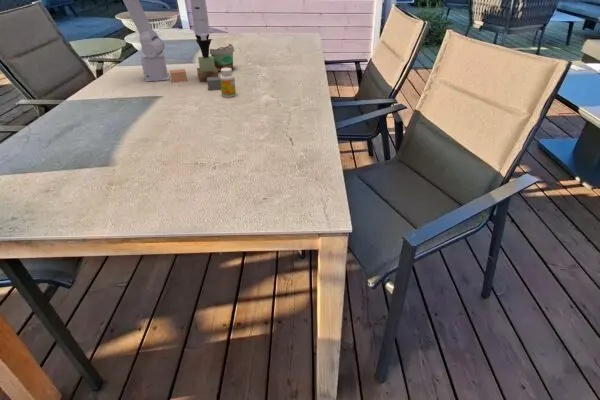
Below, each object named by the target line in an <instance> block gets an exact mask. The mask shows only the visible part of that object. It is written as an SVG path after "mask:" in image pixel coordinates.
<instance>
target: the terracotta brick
mask: <svg viewBox="0 0 600 400" xmlns="http://www.w3.org/2000/svg"><path fill="white" fill-rule="evenodd" d="M169 76H170V79H171V81H172V82H173V83H179V82H180V81H182V82H188V78H187V77H188V76H187V72H186V69H185V68H181V69H170V70H169ZM180 83H181V82H180Z"/></svg>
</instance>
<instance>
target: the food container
mask: <svg viewBox="0 0 600 400" xmlns="http://www.w3.org/2000/svg"><path fill="white" fill-rule="evenodd" d="M234 52H235V48H234V46H233V44H230V43H228V45H227V46H221V47H218V48H215V49H214V48H209V55H210V56H213V58H214V64H215V67H216V68H217V71H218V73H221V69H222V68H231V69H232V71H233V70H234V57H233V56H234Z"/></svg>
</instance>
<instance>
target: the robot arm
mask: <svg viewBox="0 0 600 400" xmlns="http://www.w3.org/2000/svg"><path fill="white" fill-rule="evenodd" d="M122 1H123V3H124V5H125V7H126V9H127V12H128V13H129V16H130V18H131V20H132V22H133V24H134V25H135V27H136V30H137V32H138V33H139V43H140V45H141V51H142V54H143V55H144V57H143V56H142V57H141V58H140V61H141V62H140V63H141V66H142V71H143V75H144V80H145V82H156V81H157V82H159V81H168V80H170V72H169V73H168V67H167V62H166V59H165V53H164V50H165V43H164V41H163V40H162V39H161V38H160V36H159V35H158V33H157V32H156V30H154V29H153V28H152V26H151V24H150V22H149V19H148V17H147V15H146V12H145V11H144V9H143V6H142V5H141V2H140V0H122ZM190 6H191V15H192V21H193V29H194V32H193V33H194V36H195V38H196V43H197V44H198V47H199V49H200V52H201V57H203V58H209V56H210V46H211V43H212V39H209V38H210V34H212V33H213V30H212V29H210V26H209V25H210V24H209V18H208V17H209V16H208V10H207V9H208V7H207V2H206V0H190Z"/></svg>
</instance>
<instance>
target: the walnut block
mask: <svg viewBox="0 0 600 400" xmlns="http://www.w3.org/2000/svg"><path fill="white" fill-rule="evenodd" d="M196 71H197V77H198V78H197V79H198V81H199V83H207V77H220V76H219V72H218V71H217V68H216V67H215V71H209V72H200V67H197V68H196Z"/></svg>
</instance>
